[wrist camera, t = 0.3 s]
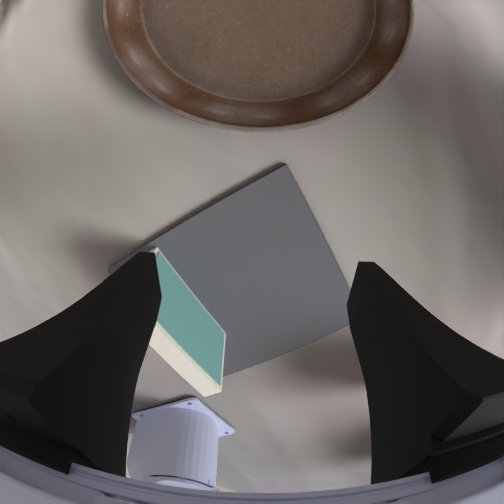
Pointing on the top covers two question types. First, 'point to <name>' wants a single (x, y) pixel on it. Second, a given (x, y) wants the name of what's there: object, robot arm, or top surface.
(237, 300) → the mat
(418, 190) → the top surface
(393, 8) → the plant saucer
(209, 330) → the slab
